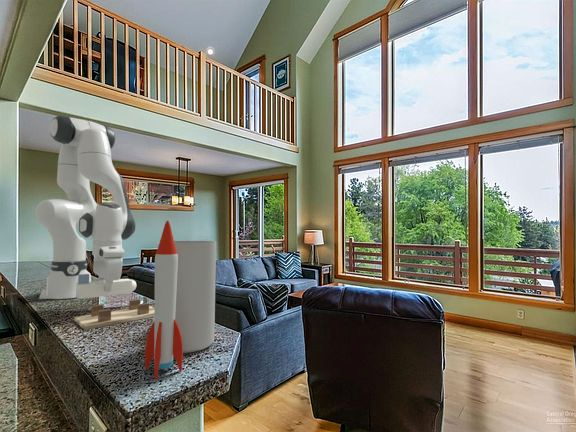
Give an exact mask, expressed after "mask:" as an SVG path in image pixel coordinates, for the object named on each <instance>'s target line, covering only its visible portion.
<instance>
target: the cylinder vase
mask: <svg viewBox="0 0 576 432" xmlns="http://www.w3.org/2000/svg"><path fill="white" fill-rule="evenodd" d="M174 243H175V247H176V251H177V255H178V269H177V290H176V311H175V320H176V322H177V324H178V327H179V329H180V333H181V336H182V343H183V354H188V353H195V352H200V351H203V350H205V349H207V348H209V347H210V346H212V344H213V343H214V342H215V341H214V340H215V325H216V324H215V323H216V322H215V320H216V318H215V317H216V316H215V315H216V314H215V313H216V279H217V278H216V272H217V271H216V270H217V269H216V268H217V265H216V264H217V241H214V240H213V241H212V240H174Z"/></svg>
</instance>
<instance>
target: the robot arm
mask: <svg viewBox="0 0 576 432" xmlns="http://www.w3.org/2000/svg"><path fill="white" fill-rule="evenodd" d="M49 127H50V129H49V131H50V136H51V137H52V139H53V140H54V141H55V142H57V143H59V144H61V147H60V151H59V153H58V160H57V171H56V172H57V175H56V184H57V185H58V187H59V188H60V189H62V190H63V191H64V192H65V194H66V197H67V199H64V198H49V199H43V200H41V201H40V202H39V203H38V204H37V206H36V207H35V210H34V211H35V212H34V213H35V214H34V215H35V218H36V220H37V221H38V222H39V223H40V224H41V225H42V226H44V227H45V229H47V231H48V232H49V235H50V237H51V241H52V247H53V248H52V255H53V257H52V261H51V264H50V270H51V271H50V274H48V276H47V277H46V278H45V279H44V280H42V286H43V287H44V288H43V290H41V293H40V295H39V297H38V299H39V300H47V299H48V300H64V299H74V298H77V297H76V284H77V283H78V275H80V274H89V282H92V279H91V278H92V276H91V273H90V272H89V271H88V270H87V269H88V260H87V241H86V239H91V240H92V239H93V240H92V250H91V251H92V252H91V255H92V256H94V257H93V265H92V266H93V267H92V270H93V273H94V274H95V275H97V276H98V281H104V280H105V286H104V291H105V292H110V291H111V286H112V283H113V281H115V280H119V279H121V278H122V277H121V276H122V272H123V271H122V270H123V262H124V260H123V258H124V257H125V256H126V255H125V254H126V252H125V250H124V248H123V240H124V241H126V240H128V239H129V238H130V237H132V236H133V234H134V233H135V231H136V221H135V218H134V216H133V214H132V211H131V207H130V202H129V199H128V194H127V190H126V186H125V182H124V179H123V177H122V175H121V174H120V173H118V171H117V170H116V168H115V166H114V164H113V160H112V148H113V147H114V145H115V142H116V134H115V131H114V130H113V128H111V127H109V126H107V125H104V124H100V123H98V122H94V121H90V120H87V119H81V118H76V117H70V116H68V115H56V116H55V117H54V118H53V119H52V122H51V123H50V126H49ZM90 182H92V183H94V184H97V185H99V186H101V187H103V188H104V189H106V190H107V191H108V192H109V193H110V194H111V196H112V201H113V203H111V202H100V203H97V202H96V200H95V198H94V197H93V194H92V191H91V185H90ZM77 228H78V232H79V233H80V235H82V236H83V237H82V236H80V235H79V233H78V232H77ZM84 238H86V239H84Z"/></svg>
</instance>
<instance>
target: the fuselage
mask: <svg viewBox="0 0 576 432" xmlns="http://www.w3.org/2000/svg"><path fill="white" fill-rule="evenodd" d="M104 286H105V280H104V281H99V280H96V281H92V280H91V282H89V274H80V275H78V283H77V284H76V297H75V298H77V299H78V300H81V299H82V300H83V299H92V298H99V297H101V298H102V297H109V296H116V295H117V296H118V295H124V294H125V295H126V294H127V295H128V294H132V292H134V291H135V290H136V288H137V282H136V280H134V279H130V278H120V279H119V280H115V281H113V283H112V286H111V291H110V292H105V291H104Z"/></svg>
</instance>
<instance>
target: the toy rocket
mask: <svg viewBox="0 0 576 432" xmlns="http://www.w3.org/2000/svg"><path fill="white" fill-rule="evenodd" d="M174 241H175V240H174V235H173V231H172V227H171V223H170V221H169V220H166V222H164V226H163V229H162V233H161V236H160V240H159V244H158V246H157V249H156V253H155V255H154V256H155V257H154V308H155V316H154V317H153V318H154V322H153V321H152V324H151V325H150V329H149V330H148V334H147V336H146V342H145V351H144V352H145V353H144V362H145V363H144V370H145V371H146V370H148V369H149V367H150V365H151V362H152V360H154V361H153V366H154V369H153V370H154V371H153V372H154V373H153V376H154V377H153V379H154V380H157V379H158V376H159V369H160V370H162V369H168V368H170V367H171V366H173V365H174V359H175V362H176V364H177V367H178V370H179V371H180V372H183V359H184V357H183V356H184V353H183V343H182V336H181V333H180V329H179V327H178V324H177V322H176V320H175V311H176V290H177V269H178V255H177V251H176V247H175V243H174Z"/></svg>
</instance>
